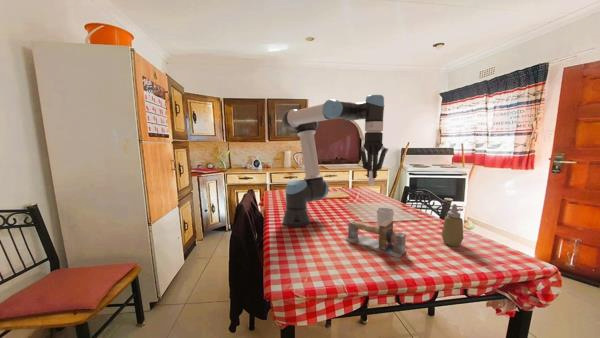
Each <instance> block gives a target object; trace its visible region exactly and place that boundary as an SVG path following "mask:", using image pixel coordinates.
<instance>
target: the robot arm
mask: <svg viewBox="0 0 600 338" xmlns="http://www.w3.org/2000/svg"><path fill="white" fill-rule="evenodd" d="M384 114H385V97H384V95H383V94H382V95H381V94H369V95H367V96H366V97H365V101H363V102H352V101H351V102H350V101H346V100H345V101H344V100H339V99H328V100H326V101H325V102H324V103H321V104H317V105H313V106H308V107H305V108H301V109H289V110H286V111H284V113H283V114H282V117H281V123H282V125H283V127H284V128H286V129H287V130H288V131H296V135H297V137H299V140H300V148H301V153H302V155H301V156H302V161H303V169H304V174H305V176H304V178H303V179H297V180H296V179H295V180H292V181H288V182H287V184H286V185H285V211H284V216H283V218H282V223H283V225H285V226H287V227H291V228H301V227H306V226H308V225H310V223H311V219H310V216H309V212H308V209H307V207H308V206H307V205H308V204H307V203H310V202H315V201H316V202H317V201H321V200H324V199H326V197H327V196H328V194H329V192H330V191H329V184H328V182H327V180H325V179H324V177H323V175H322V174H320V166H319V162H318V161H319V160H318V154H317V153H318V152H317V148H316V147H317V146H316V140H315V134H316V133H317V131H316V130H317V129H318V128H319V127H318V126H319V122H322V121H328V120H336V119H339V120H345V121H352V122H353V121H357V120H364V122H365V123H364V131H365V133H364V143H363V145H362V147H359V148H358V151H359V154H360V158H361V162H362V167H363V169H364V170H366V171H367V173H366V177H367V178H368V186H370V187H371V186H374V185H375V182H376V181H375V179H376V178H377V177H378V176H377V175H378V174H377V173H378V171H380V170H382V168H383V164H384V160H385V158H386V154H387V153H388V151H389V148H387V147H385V146H384V143H383V138H384V137H383V134H384V133H383V131H384ZM380 151H381V153H380ZM379 153H380V154H379Z"/></svg>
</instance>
